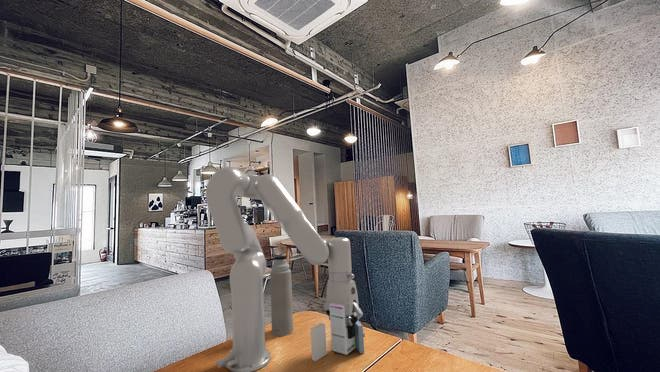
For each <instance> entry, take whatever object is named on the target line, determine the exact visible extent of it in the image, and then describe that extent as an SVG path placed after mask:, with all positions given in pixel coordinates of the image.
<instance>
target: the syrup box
mask: <svg viewBox="0 0 660 372" xmlns="http://www.w3.org/2000/svg"><path fill="white" fill-rule="evenodd" d="M351 319H352V317H351ZM329 322H330V334H331V338H330V339H331V350H332V351H333V352H336V353H339V354H342V355H345V356H347V355H348V354H349V353H351V352H352V351H353V350H355V349H357V348H356V334H355V336H354V337H353V338H351V339H348V330H347V326H348V325H349V323H348V320H347V316H346V315H345V309H344V306H343V305H340V304H335V303H330V320H329Z"/></svg>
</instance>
